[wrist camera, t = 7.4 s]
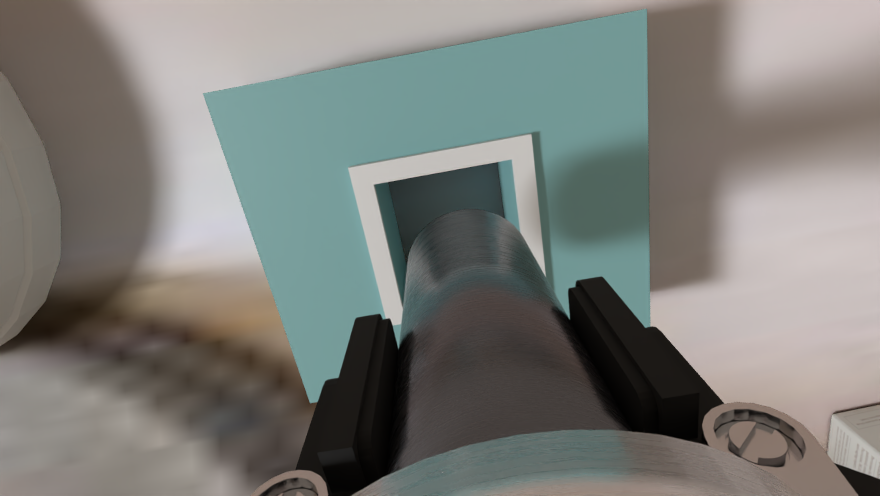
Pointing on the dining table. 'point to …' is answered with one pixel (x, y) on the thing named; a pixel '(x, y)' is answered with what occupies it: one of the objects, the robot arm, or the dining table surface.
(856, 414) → the supplement box
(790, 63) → the dining table surface
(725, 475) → the bolt
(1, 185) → the dish
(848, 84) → the dining table surface
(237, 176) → the dock
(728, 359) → the dining table surface
